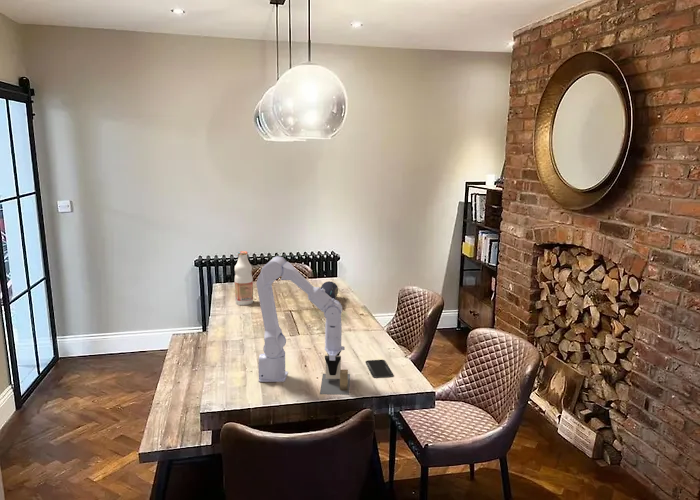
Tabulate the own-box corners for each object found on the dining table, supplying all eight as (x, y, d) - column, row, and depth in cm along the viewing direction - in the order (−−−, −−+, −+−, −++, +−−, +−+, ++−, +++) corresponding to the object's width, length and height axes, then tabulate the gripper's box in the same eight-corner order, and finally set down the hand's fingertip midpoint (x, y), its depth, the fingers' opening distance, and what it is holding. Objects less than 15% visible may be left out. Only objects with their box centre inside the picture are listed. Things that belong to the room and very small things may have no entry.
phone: (373, 377, 182) (364, 360, 196) (373, 380, 182) (364, 363, 196) (394, 376, 183) (384, 359, 197) (394, 378, 183) (384, 362, 198)
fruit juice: (231, 303, 269) (229, 252, 264) (243, 299, 277) (242, 249, 272) (244, 306, 264) (243, 254, 259) (256, 302, 272) (255, 251, 267)
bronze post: (339, 390, 172) (340, 372, 171) (340, 386, 175) (340, 369, 174) (347, 390, 172) (347, 372, 171) (347, 386, 175) (347, 369, 174)
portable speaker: (334, 310, 260) (335, 292, 258) (315, 310, 260) (315, 291, 259) (338, 296, 285) (338, 279, 283) (321, 296, 285) (321, 279, 283)
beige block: (325, 378, 178) (325, 361, 176) (326, 372, 183) (326, 355, 182) (340, 379, 178) (340, 361, 176) (340, 372, 183) (340, 355, 181)
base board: (319, 395, 169) (319, 394, 169) (322, 374, 185) (322, 373, 185) (349, 395, 169) (349, 394, 169) (349, 375, 185) (349, 374, 185)
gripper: (344, 343, 170) (343, 380, 173) (345, 328, 184) (344, 363, 187) (323, 343, 170) (323, 380, 173) (325, 328, 184) (325, 362, 187)
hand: (333, 371), depth 180 cm, fingers closed on beige block, 5 cm apart
